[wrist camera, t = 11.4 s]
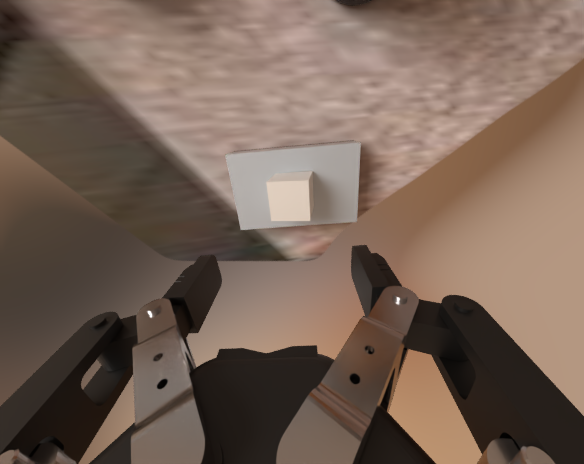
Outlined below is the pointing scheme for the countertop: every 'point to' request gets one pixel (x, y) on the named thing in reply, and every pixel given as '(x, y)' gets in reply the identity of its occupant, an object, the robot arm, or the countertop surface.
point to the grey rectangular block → (313, 157)
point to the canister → (353, 2)
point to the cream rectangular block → (291, 196)
